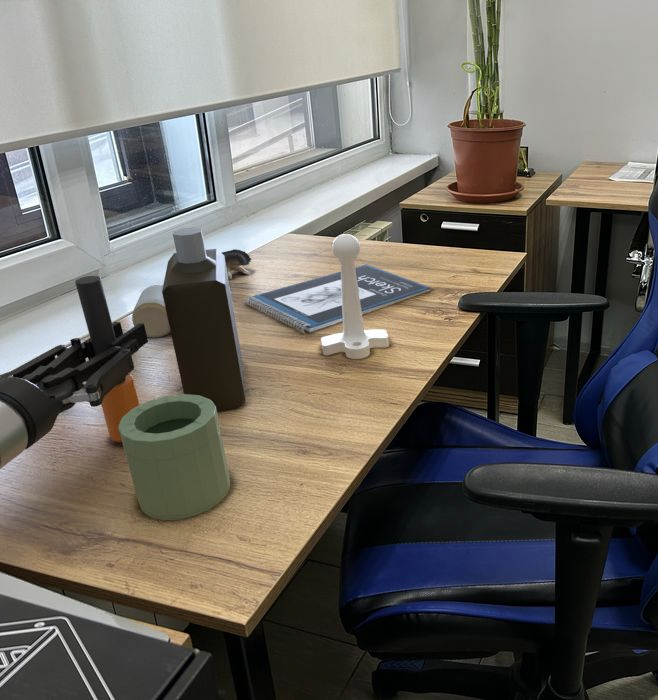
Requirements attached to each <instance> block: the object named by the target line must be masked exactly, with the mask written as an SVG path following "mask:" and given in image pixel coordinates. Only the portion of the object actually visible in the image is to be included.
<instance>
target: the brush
mask: <svg viewBox="0 0 658 700" xmlns="http://www.w3.org/2000/svg"><path fill="white" fill-rule="evenodd" d="M74 283H75V286H76V290H77V295H78V298H79V301H80V305H81V309H82V312H83V317H84V320H85V324H86V328H87V331H88V336H89V338H90V339H91V343H92V346H93V350H94V354H95V356H97V355H99V354H101V353H102V352H104V351H106V350H108V349H110V348H109V344H110V343H111V342H113V341H114V340H115V339H116V337H115V333H114V329H113V325H112V324H113V320H112V318H111V317H112V316H111V313H110V310H109V306H108V302H107V297H106V293H105V290H104V286H103V281H102V279H101V277H100V276H98V275H87V276H83V277H79V278H77V279H75V281H74ZM139 401H140V400H139V397H138V393H137V389H136V384H135V381H134V377H133V375H131V374H130V373H129V374H128V375H127V376H126V377H125V378H123V379H122V380H121V381H120V382H119V383H118V384H117V385H116V386H115V387H114V388H113V389H112V390H111V391H110V392H108V393H107V394H106V395H105V396H104V399H103V402H102V404H101V405H100V406H101V409H102V413H103V416H104V420H105V424H106V428H107V431H108V435H109V438H110V439H111V440H112V441H114V442H120V443H122V440H121V436H120V432H119V429H118V426H119V424H120V421H121V419H122V417H123V416H125V415H126V414H127V413H128V412H129V411H131V410H132V409H133V408H135V407H137V406H139V405H140V402H139Z"/></svg>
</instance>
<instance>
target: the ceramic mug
mask: <svg viewBox="0 0 658 700" xmlns="http://www.w3.org/2000/svg"><path fill="white" fill-rule="evenodd" d="M162 289H163V284H153V285H151V286H147V287H146V288H144V289H143V290H142V292H141V293H140V295H139V298H138V300H137V301H136V303H135V306H134V308H133V311H132V314H131V315H132V316H131V319H132V320H131V321H132V324H133V327H134V326H136V325H137V324H139V323H141V324H144V326H145V330H146V334H147V338H153V339H155V338H163V337H166V336H167V335H169V334H171V331H170V327H169V322H168V317H167V313H166V308H165V304H164V299H163V294H162Z"/></svg>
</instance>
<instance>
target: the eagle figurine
mask: <svg viewBox="0 0 658 700" xmlns="http://www.w3.org/2000/svg"><path fill="white" fill-rule="evenodd" d="M221 253H222V254H223V255H224V257H225V263H226V268H227V274H228V280H232V279H233V275H232V273H231V271H235V272H239V273H242V274H245V275H247V276H249V275H250V271H249V270H247V269H245V268H244V267H243V266H248V265H250V263H251V261H252V257H250V255H249V254H248V253H247V252H246V251H244V250H241V249H237V248H233V249H231V250H227V251H222V252H221Z"/></svg>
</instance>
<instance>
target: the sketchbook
mask: <svg viewBox="0 0 658 700" xmlns="http://www.w3.org/2000/svg"><path fill="white" fill-rule="evenodd" d="M355 270H356V277H357V284H358V291H359V298H360V305H361V312H362V316H363V315H366V314H369V313H371V312H374V311H377V310H380V309H383V308H385V307H388V306H392V305H394V304H397V303H400V302H402V301H406V300H409V299H411V298H414V297H417V296H420V295H422V294H426V293H429V292H431V290H432V289H431V287H430V286H428V285H425V284H422V283H420V282H416V281H413V280H411V279H408V278H406V277H402V276H400V275H397V274H394V273H392V272H388V271H386V270H383V269H380V268H378V267H375V266H372V265H370V264H362V265H359V266H355ZM245 302H246V305H247V306H250V307H252V308H254V309H255V310H258V311H259V312H261V313H264V314H266V315H268V316H269V317H271V318H273V319H276V320H277V321H278V322H281V323H283V324H286V325H288V326H289V327H291V328H293V329H295V330H296V331H299V332H301V333H302V334H306V332H307V333H309V334H312V333H316V332H317V331H321V330H323V329H326V328H329V327H332V326H335V325H338V324H340V323H343V314H342V289H341V271H338V272H334V273H330V274H326V275H323V276H320V277H317V278H316V277H315V278H312V279H309V280H306V281H302V282H298V283H295V284H291V285H288V286H283V287H280V288H277V289H274V290H271V291H266V292H263V293H259V294H255V295H251V296H248V297H247V298H246V301H245Z"/></svg>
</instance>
